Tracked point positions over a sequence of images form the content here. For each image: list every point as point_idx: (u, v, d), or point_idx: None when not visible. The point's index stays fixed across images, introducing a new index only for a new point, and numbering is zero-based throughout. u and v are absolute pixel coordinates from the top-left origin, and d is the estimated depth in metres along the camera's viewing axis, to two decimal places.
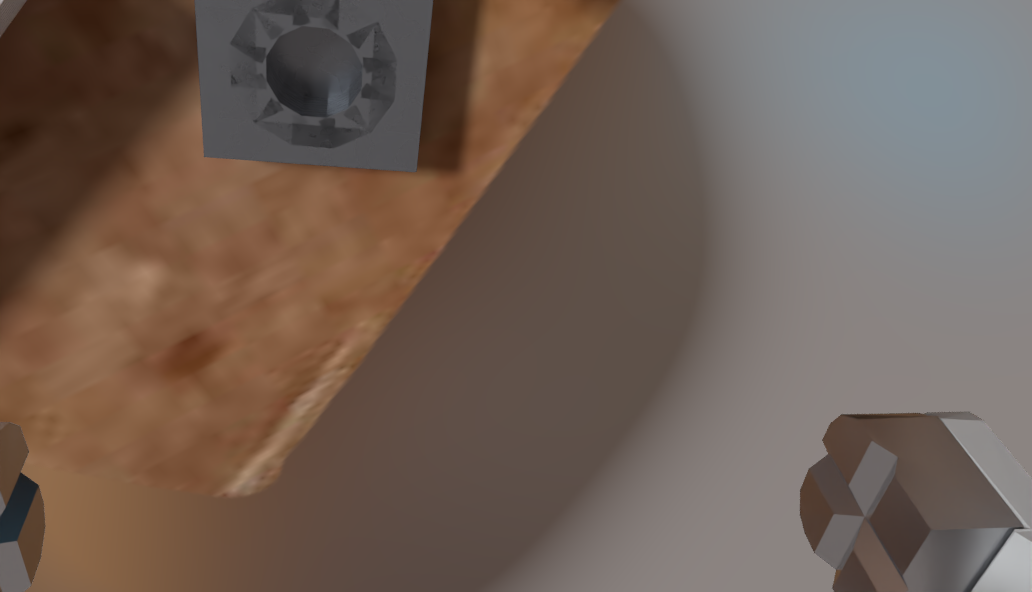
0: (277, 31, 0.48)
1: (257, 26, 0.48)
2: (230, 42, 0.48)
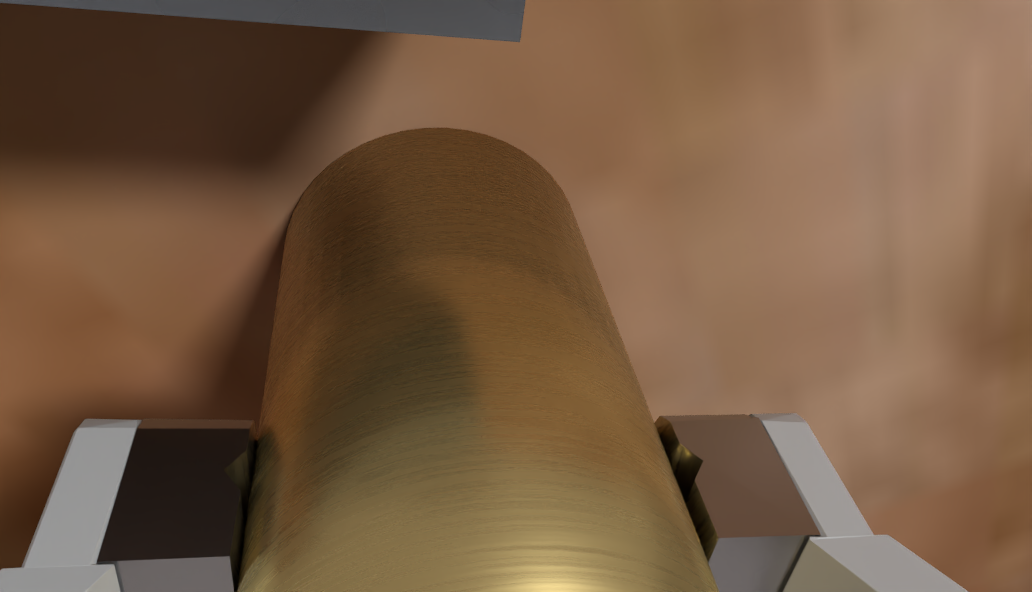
0: None
1: None
2: None
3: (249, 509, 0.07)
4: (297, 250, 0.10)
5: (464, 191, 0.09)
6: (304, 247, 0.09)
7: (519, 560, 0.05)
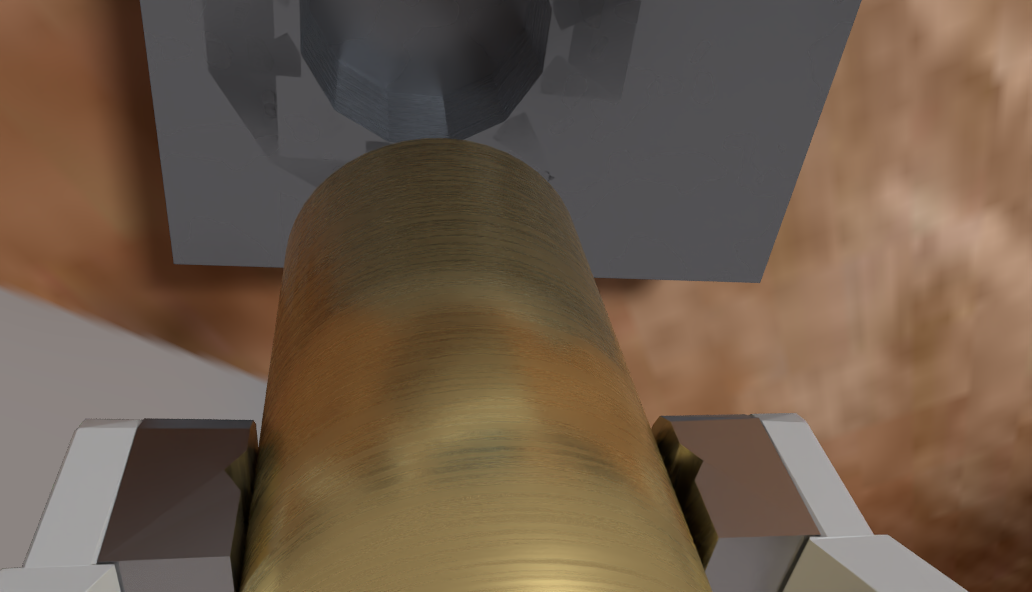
0: None
1: None
2: None
3: (250, 520, 0.07)
4: (298, 260, 0.10)
5: (464, 202, 0.09)
6: (305, 257, 0.10)
7: (516, 573, 0.05)
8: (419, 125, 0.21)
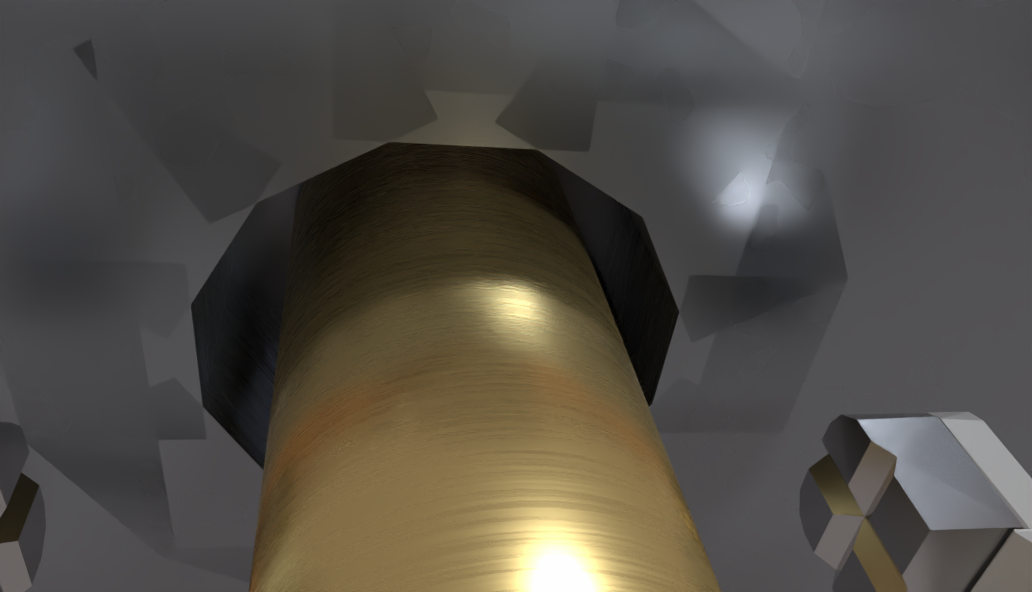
0: (668, 210, 0.09)
1: (708, 118, 0.09)
2: None
3: (269, 439, 0.08)
4: (307, 218, 0.10)
5: (461, 162, 0.10)
6: (314, 214, 0.10)
7: (509, 460, 0.06)
8: None
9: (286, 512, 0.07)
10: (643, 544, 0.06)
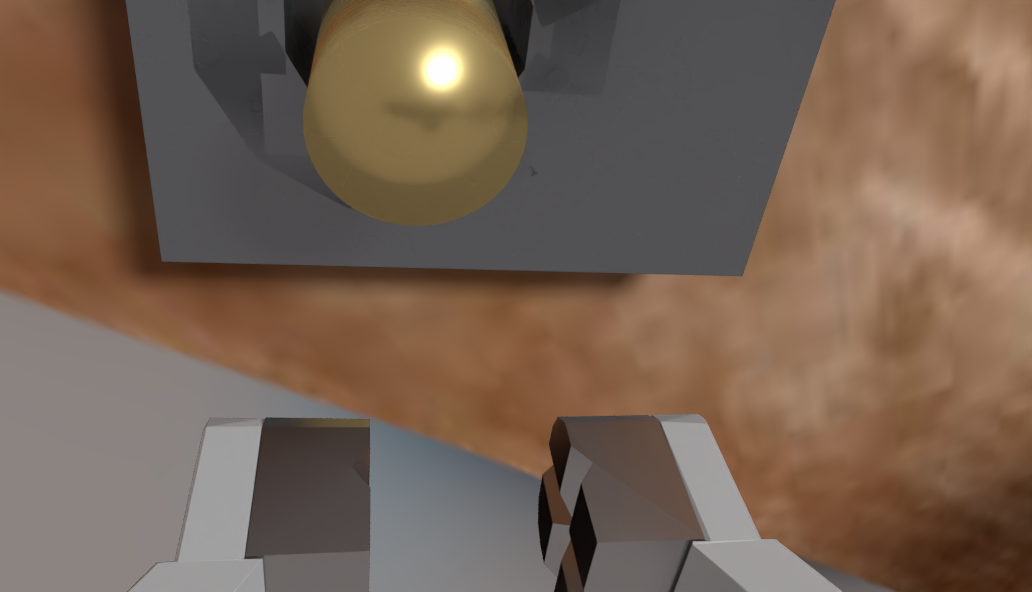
0: None
1: None
2: None
3: (319, 28, 0.17)
4: None
5: None
6: None
7: None
8: None
9: (329, 23, 0.16)
10: (471, 17, 0.15)
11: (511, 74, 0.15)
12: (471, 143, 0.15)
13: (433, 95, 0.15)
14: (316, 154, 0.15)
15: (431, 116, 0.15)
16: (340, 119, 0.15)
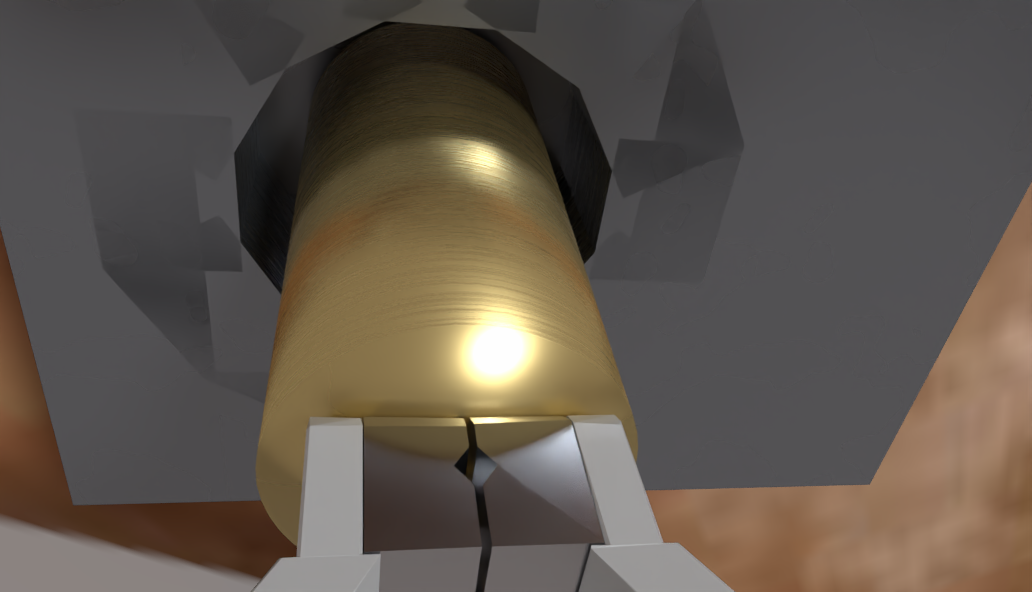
0: (598, 83, 0.12)
1: (625, 6, 0.11)
2: None
3: (292, 239, 0.11)
4: (324, 98, 0.13)
5: (448, 60, 0.13)
6: (330, 94, 0.13)
7: (467, 231, 0.09)
8: None
9: (309, 266, 0.10)
10: (553, 289, 0.09)
11: (622, 400, 0.09)
12: None
13: None
14: (277, 508, 0.09)
15: None
16: None
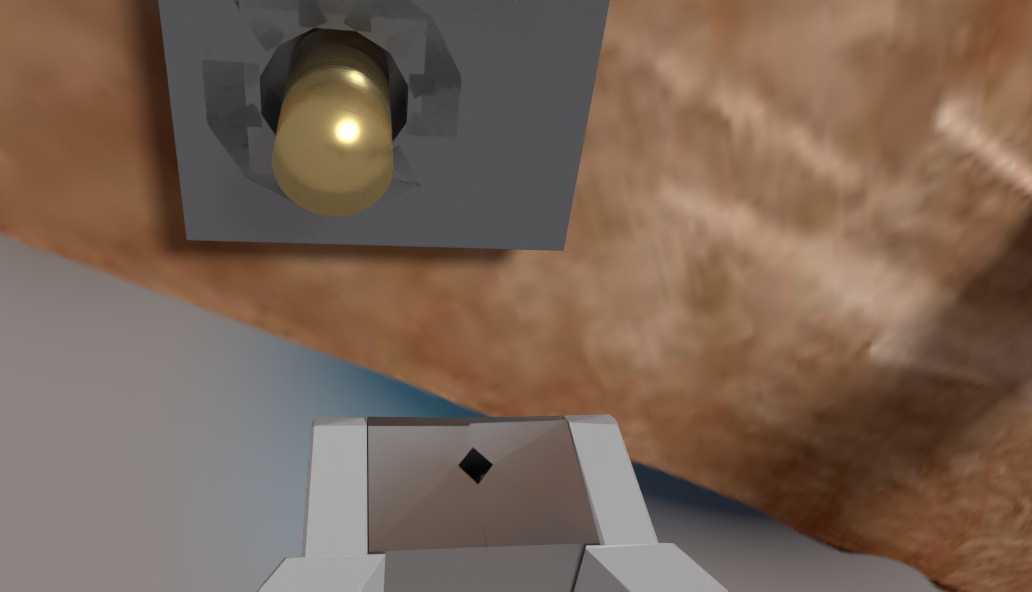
0: (397, 51, 0.32)
1: (403, 22, 0.31)
2: None
3: (282, 102, 0.30)
4: (295, 57, 0.33)
5: (344, 41, 0.32)
6: (297, 55, 0.33)
7: (337, 89, 0.29)
8: None
9: (287, 104, 0.29)
10: (364, 106, 0.28)
11: (383, 138, 0.28)
12: (363, 172, 0.29)
13: (341, 147, 0.28)
14: (278, 176, 0.28)
15: (340, 158, 0.28)
16: (292, 158, 0.28)
